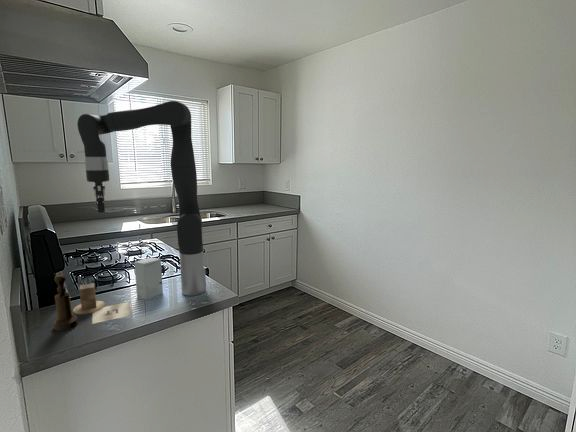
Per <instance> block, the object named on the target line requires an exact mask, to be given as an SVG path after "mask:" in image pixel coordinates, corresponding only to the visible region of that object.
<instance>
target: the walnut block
mask: <svg viewBox="0 0 576 432" xmlns="http://www.w3.org/2000/svg"><path fill="white" fill-rule="evenodd" d="M78 291H79V298H80V304H81V308H82V311H83V310H88V309H93V308H96V301H97V298H96V288H95V283H94V282H93V283H87V284H80V285H79V290H78Z"/></svg>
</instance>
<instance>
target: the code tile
mask: <svg viewBox="0 0 576 432" xmlns="http://www.w3.org/2000/svg"><path fill="white" fill-rule="evenodd" d="M91 314H92V315H91V316H92V318H91V324H92V325H94V324H99V323H102V322H106V321H112V320H116V319H120V318H125V317H129V316H132V314H133V313H132V309H131V305H130V302H129V301H127V302H121V303H117V304H113V305H107V306H106V305H105V306H104V307H103V308H102V309H100V310H98V311H96V312H93V313H91Z"/></svg>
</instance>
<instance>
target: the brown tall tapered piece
mask: <svg viewBox="0 0 576 432" xmlns="http://www.w3.org/2000/svg"><path fill="white" fill-rule="evenodd" d="M66 280H67V278H66V275H65V274H63V273H59V274H56V275H55V277H54V282H55V283H56V284H57V288H56V290H57V292H58V293H57V294H55V295H54V300H55V308H56V313H57V314H56V315H57V318H56V320H55V319H54V321H53V328H54V331H56V332H65V331H69V330H72V329H74V328H75V327H77V326H78V324H79V319H78V316H77V315H74V314H73V309H72V303H71V296H70V292H66V286H65V285H64V284H65V281H66Z"/></svg>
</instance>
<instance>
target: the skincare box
mask: <svg viewBox="0 0 576 432" xmlns="http://www.w3.org/2000/svg"><path fill="white" fill-rule="evenodd" d="M133 264H134V273H135V288H136V297H137V298H138V299H141V300H144V301H147V300H149V299H153V298H155V297H157V296H159V295H162V294H163V293H164V290H163V276H162V275H163V272H162V260H161V258H157V257H148V258H144V259H140V260H137V261H134V262H133Z"/></svg>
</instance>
